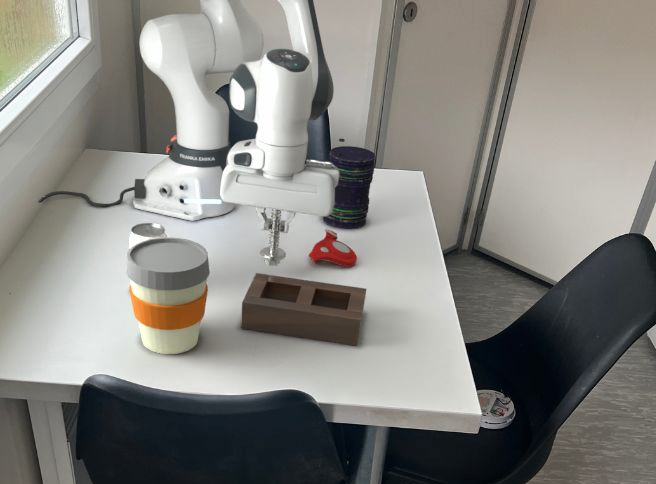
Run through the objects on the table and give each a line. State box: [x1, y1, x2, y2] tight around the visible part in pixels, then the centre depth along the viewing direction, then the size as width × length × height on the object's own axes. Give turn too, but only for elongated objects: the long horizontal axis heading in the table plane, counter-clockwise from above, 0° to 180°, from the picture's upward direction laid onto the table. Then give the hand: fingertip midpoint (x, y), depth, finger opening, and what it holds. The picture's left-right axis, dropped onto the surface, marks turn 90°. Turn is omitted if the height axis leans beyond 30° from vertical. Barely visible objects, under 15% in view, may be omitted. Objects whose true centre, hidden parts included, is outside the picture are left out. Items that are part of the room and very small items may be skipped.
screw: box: [259, 209, 287, 267], centre depth 132 cm, size 13×5×5 cm
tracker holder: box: [308, 228, 358, 267], centre depth 145 cm, size 12×4×10 cm
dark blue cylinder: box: [322, 138, 376, 230], centre depth 157 cm, size 10×10×18 cm
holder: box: [240, 272, 367, 347], centre depth 124 cm, size 11×20×5 cm, turn 79°
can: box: [129, 222, 168, 249], centre depth 127 cm, size 6×6×12 cm
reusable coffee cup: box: [125, 236, 210, 355], centre depth 113 cm, size 13×13×15 cm
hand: (274, 230), depth 132 cm, fingers closed on screw, 2 cm apart
